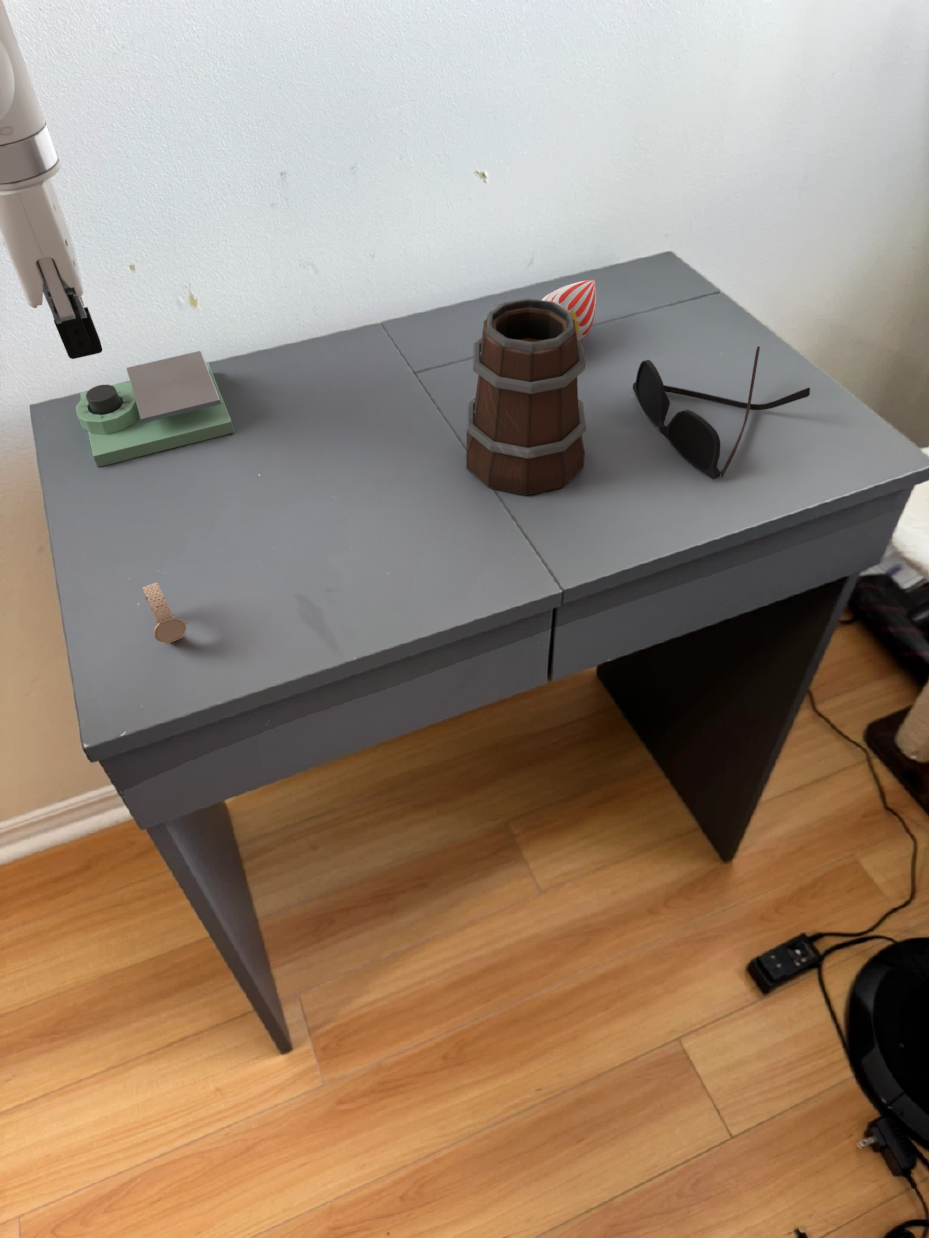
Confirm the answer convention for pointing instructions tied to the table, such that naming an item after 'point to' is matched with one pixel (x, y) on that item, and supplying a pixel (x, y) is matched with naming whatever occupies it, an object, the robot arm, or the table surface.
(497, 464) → the wooden bucket
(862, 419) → the table surface
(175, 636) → the perforated watch strap
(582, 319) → the ice cream cone
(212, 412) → the scale
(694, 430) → the sunglasses
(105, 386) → the button
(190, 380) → the brushed metal plate
